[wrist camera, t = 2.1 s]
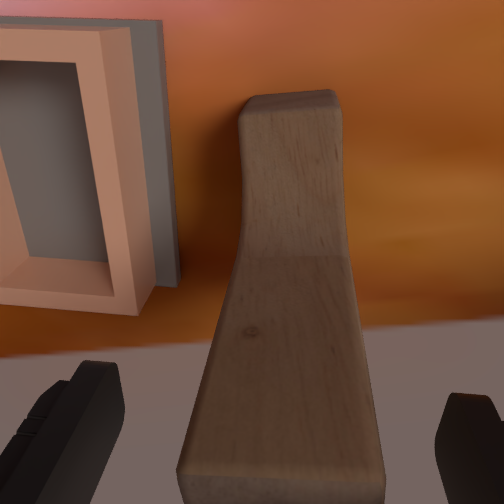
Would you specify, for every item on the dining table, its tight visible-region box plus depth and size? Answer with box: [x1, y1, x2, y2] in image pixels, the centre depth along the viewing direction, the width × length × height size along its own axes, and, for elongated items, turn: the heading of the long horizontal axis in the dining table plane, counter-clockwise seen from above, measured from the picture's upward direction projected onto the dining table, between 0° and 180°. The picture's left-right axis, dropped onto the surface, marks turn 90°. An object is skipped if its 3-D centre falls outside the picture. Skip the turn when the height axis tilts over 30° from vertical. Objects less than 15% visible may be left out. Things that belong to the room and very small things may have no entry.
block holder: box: [0, 16, 181, 316], centre depth 24 cm, size 12×15×4 cm
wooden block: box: [176, 89, 386, 504], centre depth 17 cm, size 9×4×18 cm, turn 5°
